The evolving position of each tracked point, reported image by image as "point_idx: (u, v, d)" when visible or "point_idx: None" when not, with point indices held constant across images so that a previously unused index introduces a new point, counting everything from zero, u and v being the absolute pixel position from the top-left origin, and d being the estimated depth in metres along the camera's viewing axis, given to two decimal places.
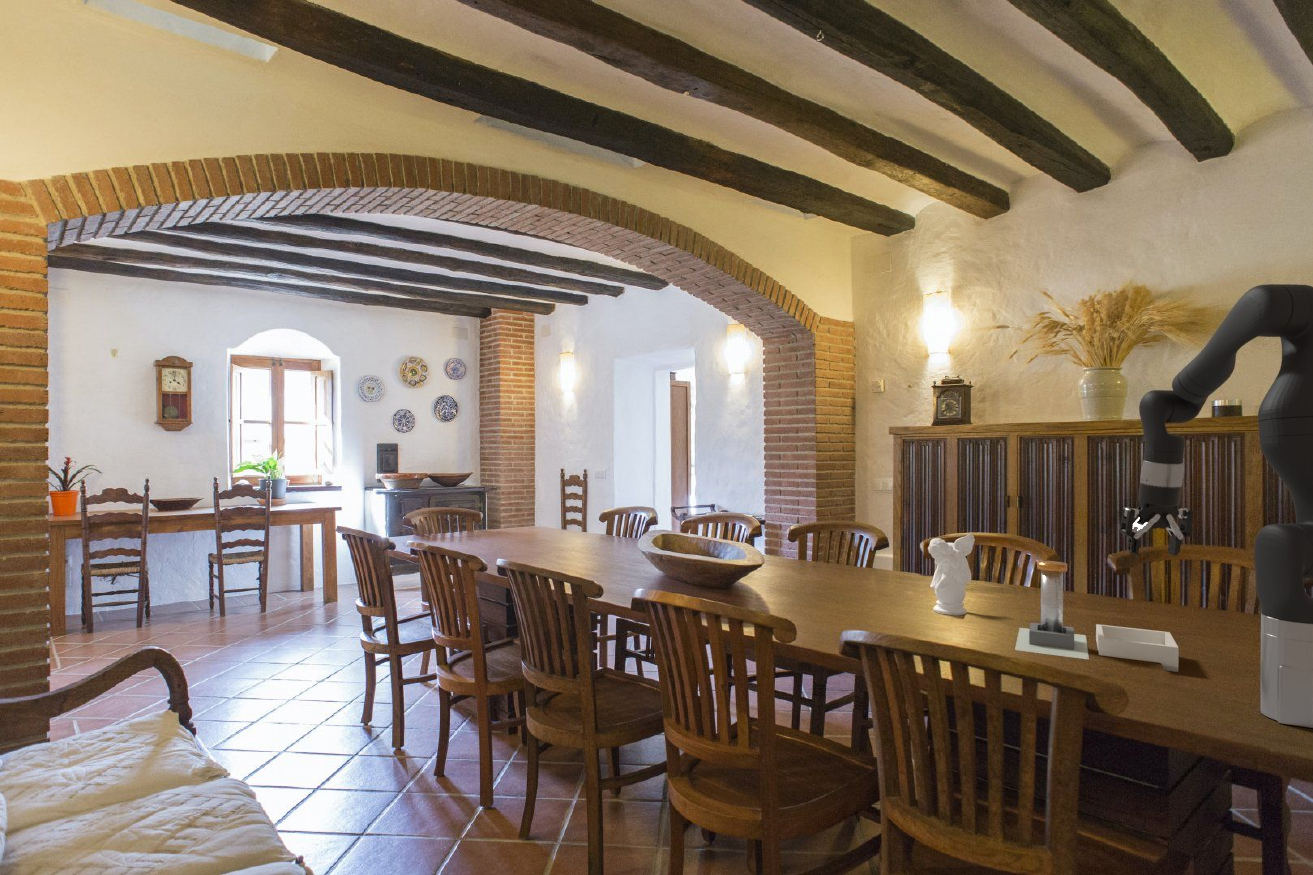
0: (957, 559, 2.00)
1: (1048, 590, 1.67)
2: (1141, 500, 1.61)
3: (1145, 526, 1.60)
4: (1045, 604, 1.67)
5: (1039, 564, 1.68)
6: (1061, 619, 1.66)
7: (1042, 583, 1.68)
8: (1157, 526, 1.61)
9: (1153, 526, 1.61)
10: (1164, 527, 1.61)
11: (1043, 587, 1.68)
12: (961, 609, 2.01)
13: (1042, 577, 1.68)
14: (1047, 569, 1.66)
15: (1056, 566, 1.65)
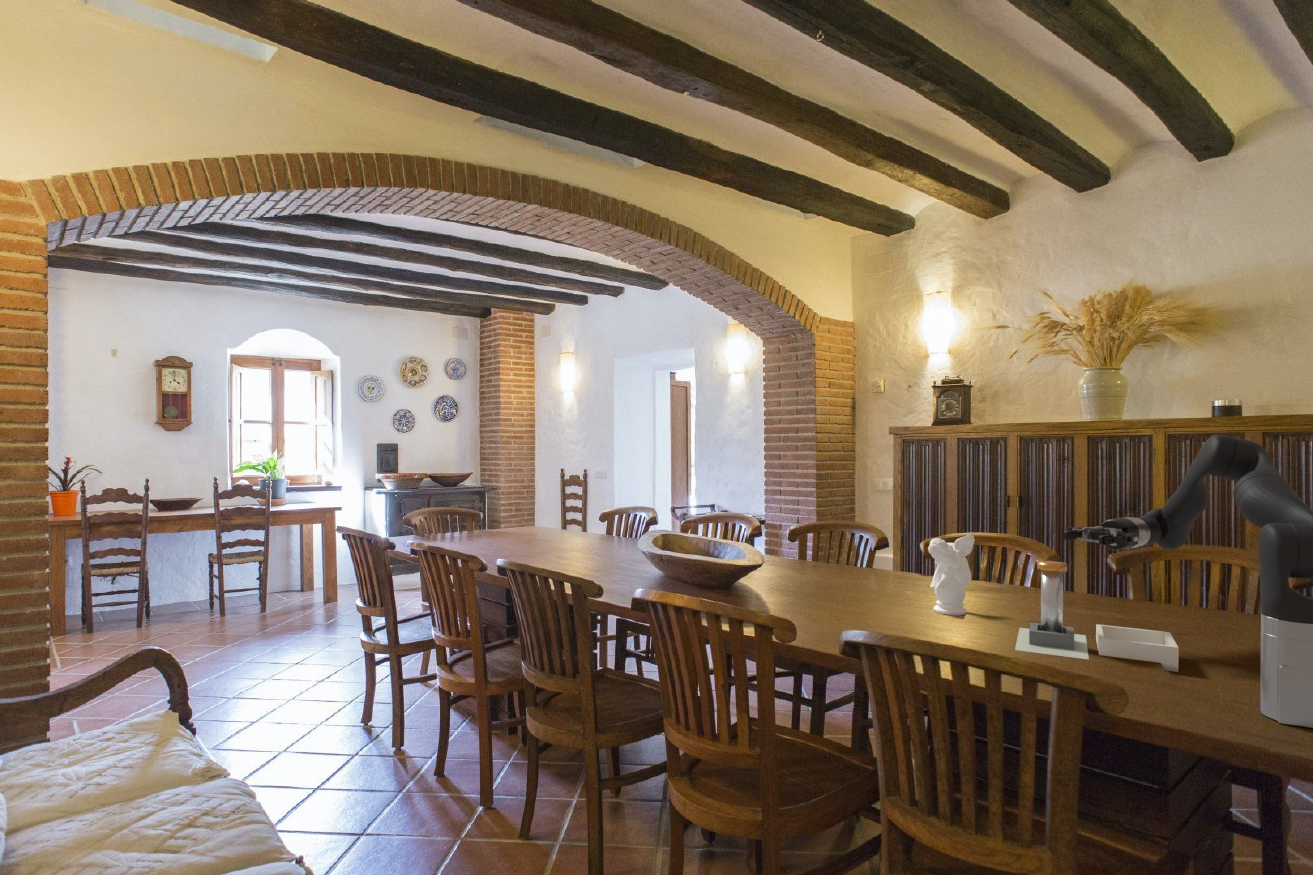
0: (957, 559, 2.00)
1: (1048, 590, 1.67)
2: None
3: (1086, 527, 1.79)
4: (1045, 604, 1.67)
5: (1039, 564, 1.68)
6: (1061, 619, 1.66)
7: (1042, 583, 1.68)
8: (1098, 531, 1.76)
9: (1094, 530, 1.77)
10: (1104, 532, 1.75)
11: (1043, 587, 1.68)
12: (961, 609, 2.01)
13: (1042, 577, 1.68)
14: (1047, 569, 1.66)
15: (1056, 566, 1.65)
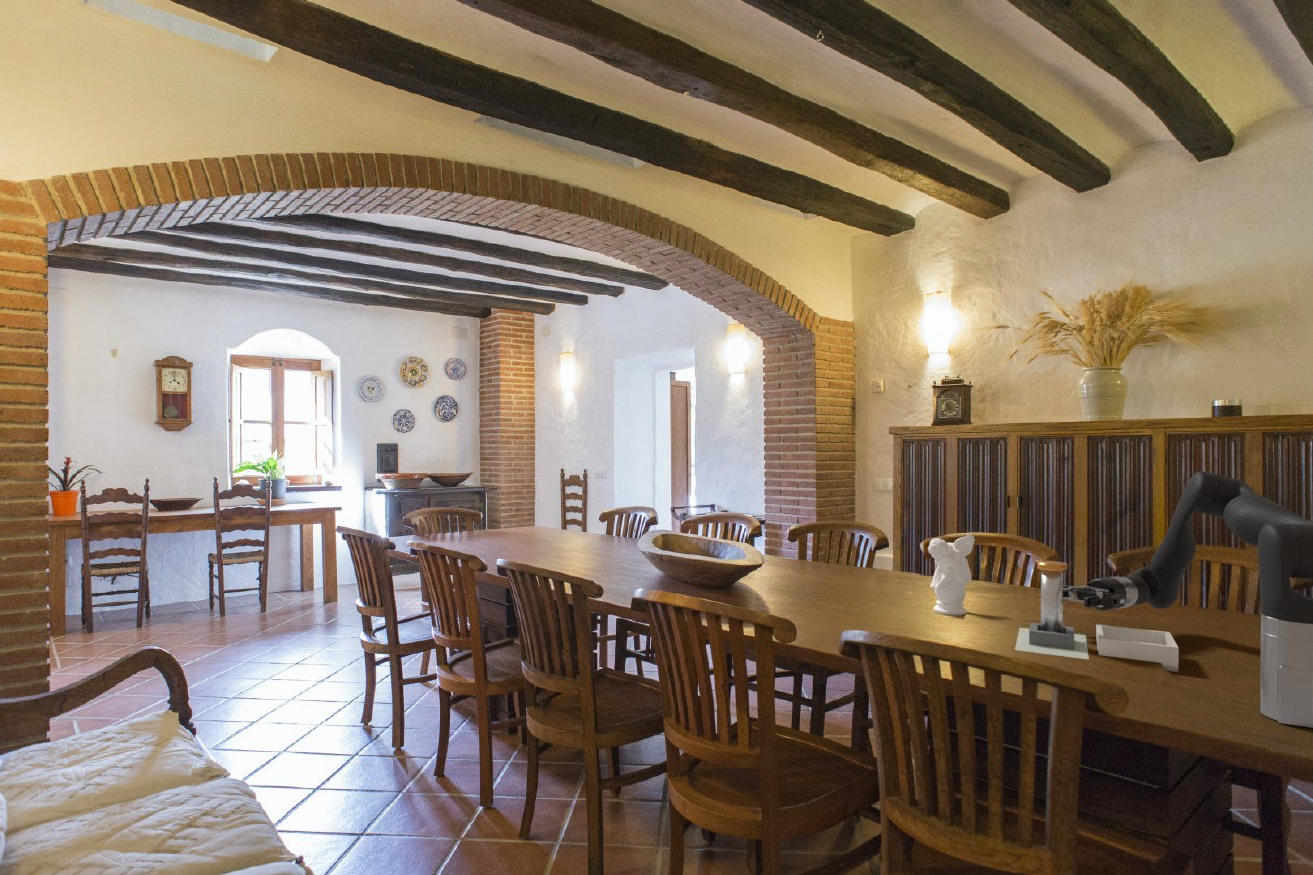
0: (957, 559, 2.00)
1: (1048, 590, 1.67)
2: None
3: (1072, 586, 1.77)
4: (1044, 604, 1.67)
5: (1039, 564, 1.68)
6: (1061, 619, 1.66)
7: (1042, 583, 1.68)
8: (1084, 591, 1.74)
9: (1081, 590, 1.75)
10: (1090, 593, 1.72)
11: (1043, 587, 1.68)
12: (961, 609, 2.01)
13: (1042, 577, 1.68)
14: (1047, 569, 1.66)
15: (1056, 566, 1.65)
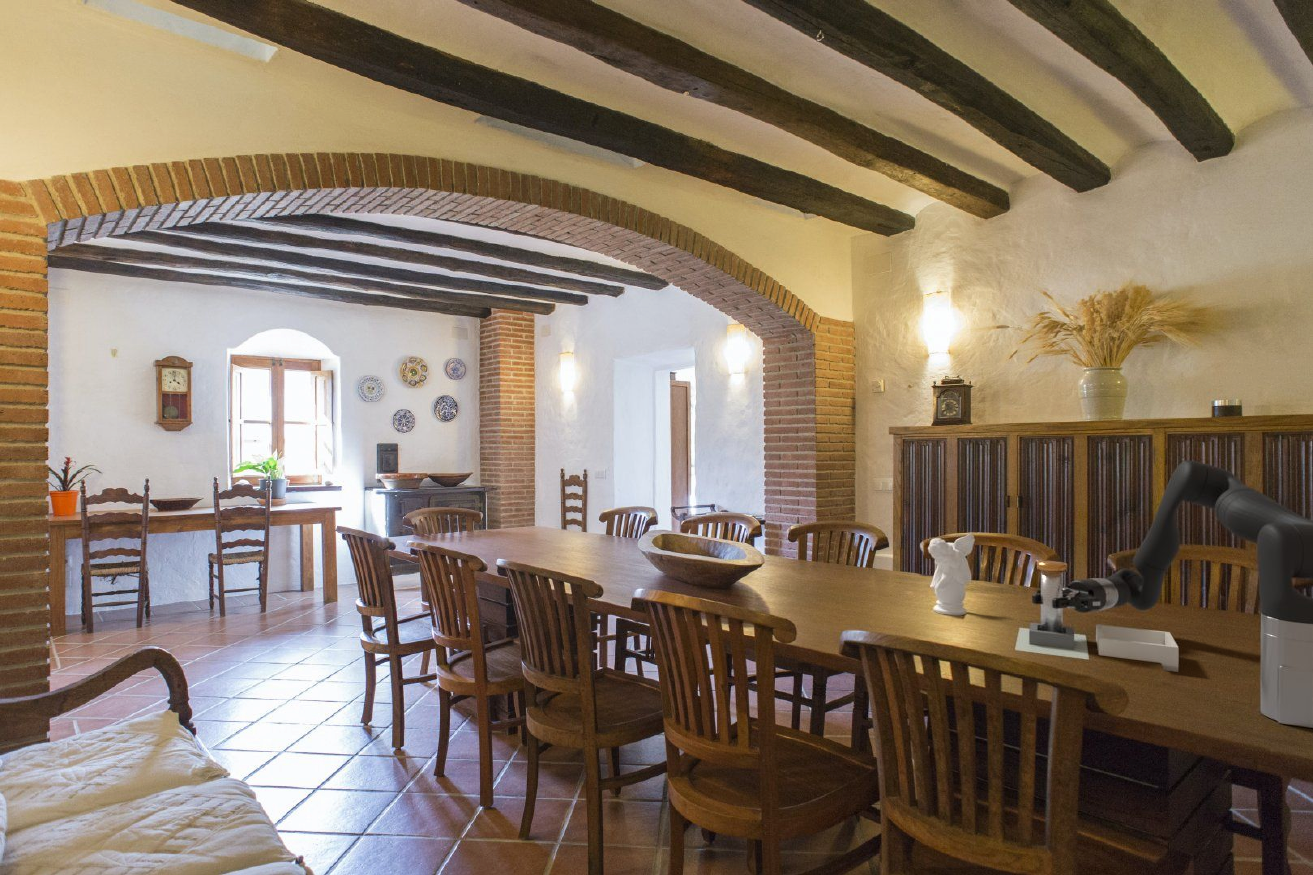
0: (957, 559, 2.00)
1: (1048, 590, 1.67)
2: None
3: None
4: (1044, 604, 1.67)
5: (1039, 564, 1.68)
6: (1061, 619, 1.66)
7: (1042, 583, 1.68)
8: (1063, 593, 1.71)
9: None
10: None
11: (1043, 587, 1.68)
12: (961, 609, 2.01)
13: (1042, 577, 1.68)
14: (1047, 569, 1.66)
15: (1056, 566, 1.65)
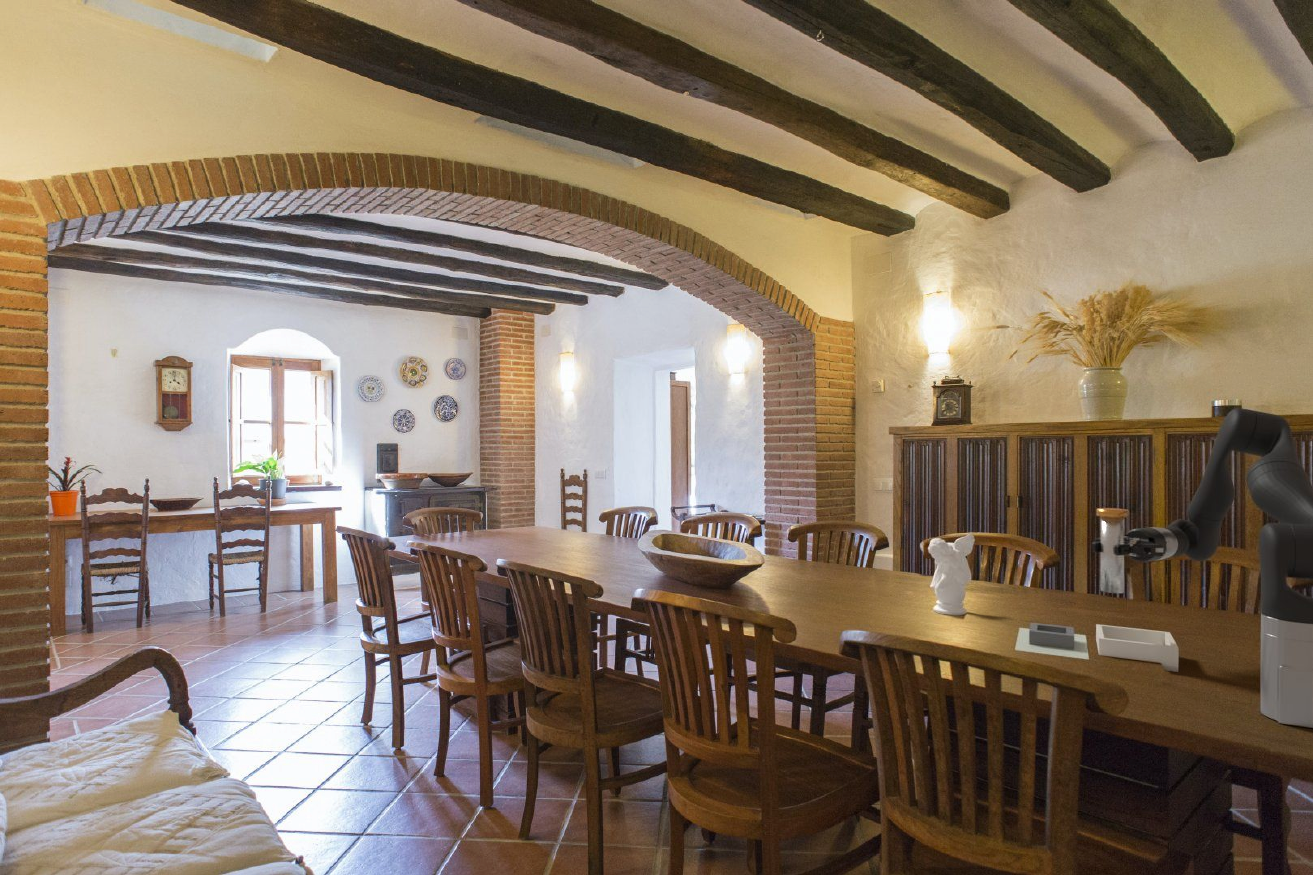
0: (957, 559, 2.00)
1: (1109, 537, 1.61)
2: None
3: None
4: (1105, 551, 1.62)
5: (1099, 510, 1.63)
6: (1123, 567, 1.61)
7: (1102, 530, 1.63)
8: None
9: None
10: (1130, 542, 1.64)
11: (1104, 534, 1.62)
12: (961, 609, 2.01)
13: (1102, 524, 1.63)
14: (1108, 515, 1.61)
15: (1118, 512, 1.60)
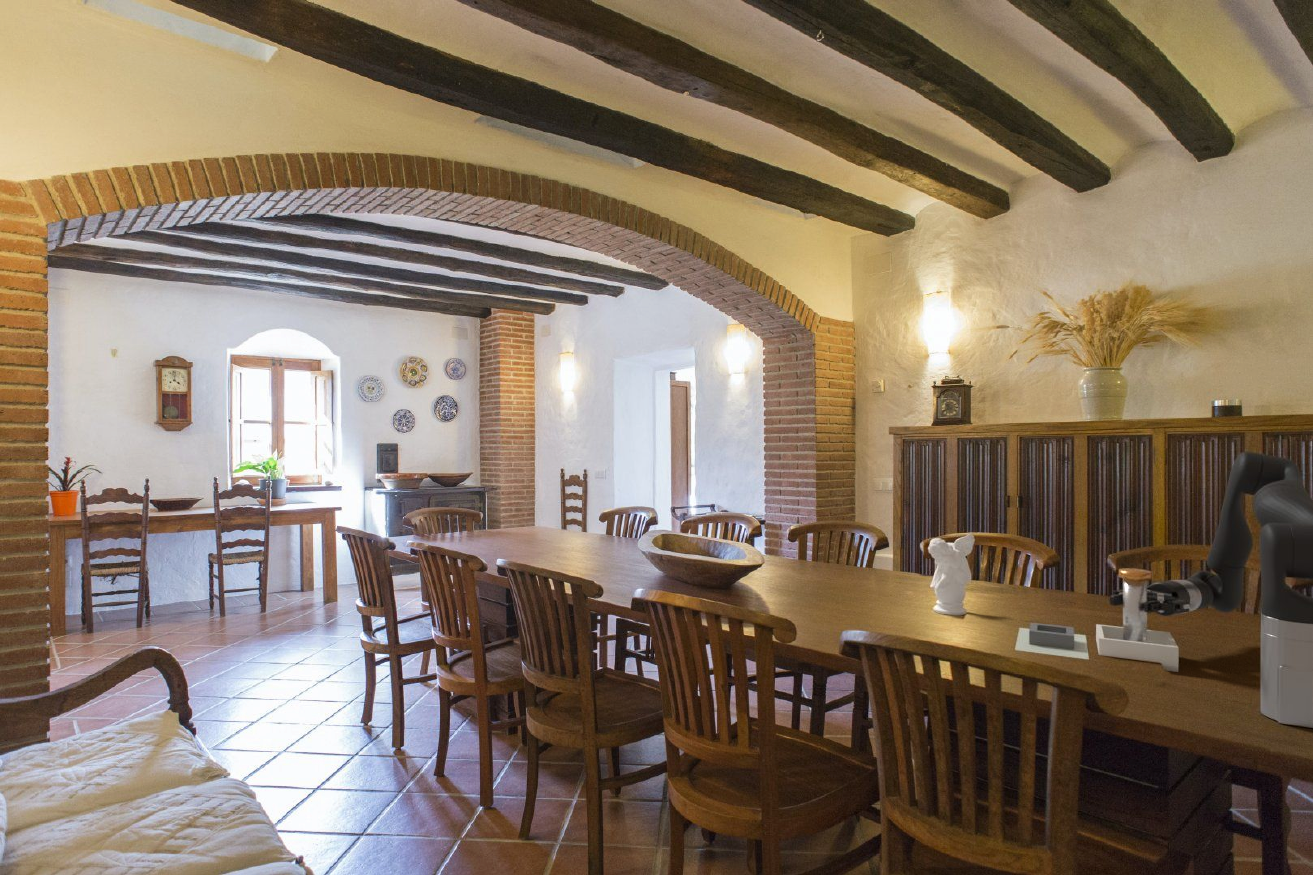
0: (957, 559, 2.00)
1: (1132, 599, 1.60)
2: None
3: None
4: (1128, 613, 1.60)
5: (1121, 572, 1.61)
6: (1145, 629, 1.60)
7: (1125, 592, 1.61)
8: None
9: None
10: (1153, 597, 1.62)
11: (1126, 596, 1.61)
12: (961, 609, 2.01)
13: (1124, 586, 1.61)
14: (1131, 578, 1.59)
15: (1141, 574, 1.58)
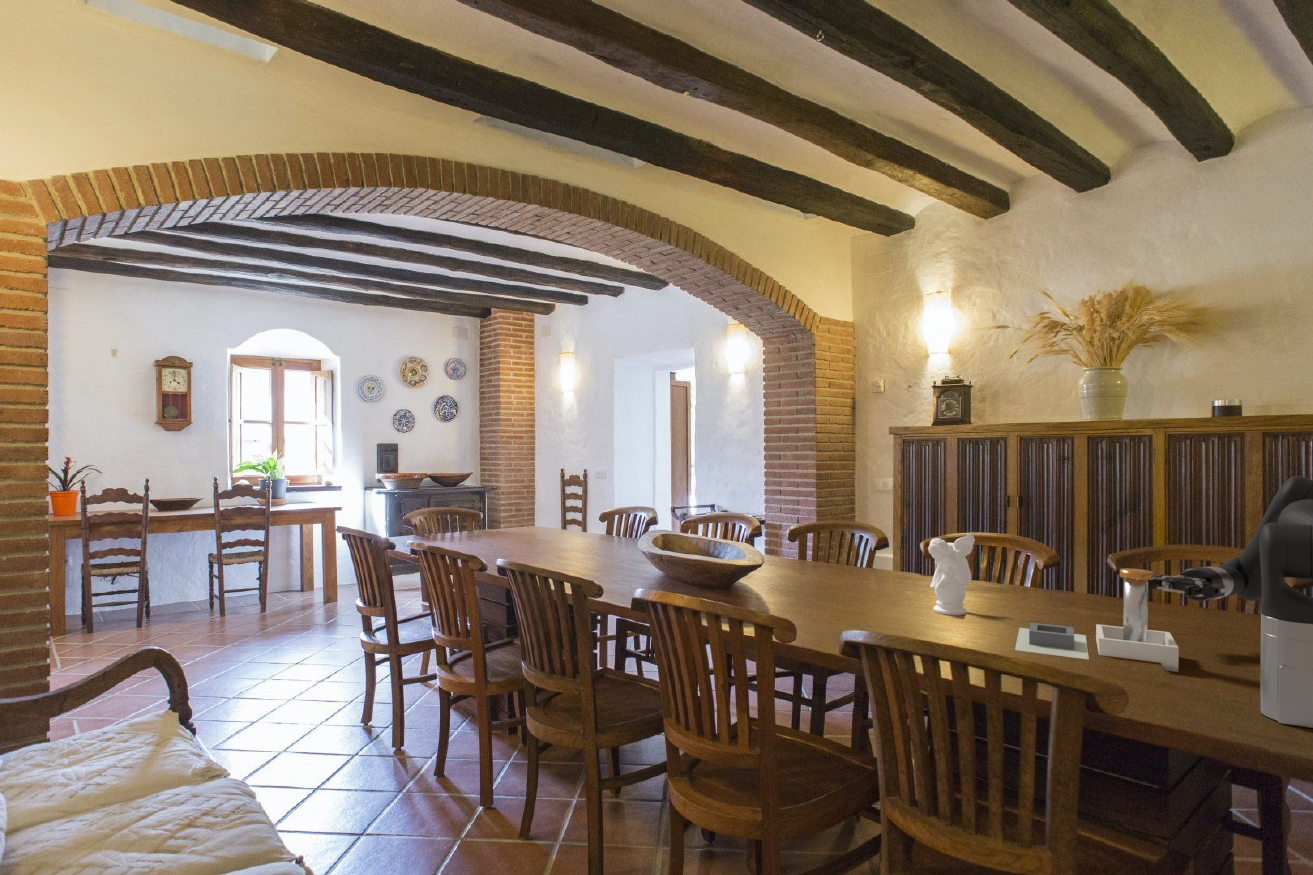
0: (957, 559, 2.00)
1: (1132, 599, 1.60)
2: None
3: (1167, 576, 1.72)
4: (1128, 613, 1.61)
5: (1123, 572, 1.61)
6: (1146, 629, 1.60)
7: (1125, 592, 1.61)
8: (1180, 580, 1.69)
9: (1176, 580, 1.70)
10: (1187, 582, 1.67)
11: (1127, 595, 1.61)
12: (961, 609, 2.01)
13: (1125, 585, 1.61)
14: (1132, 577, 1.59)
15: (1142, 574, 1.59)
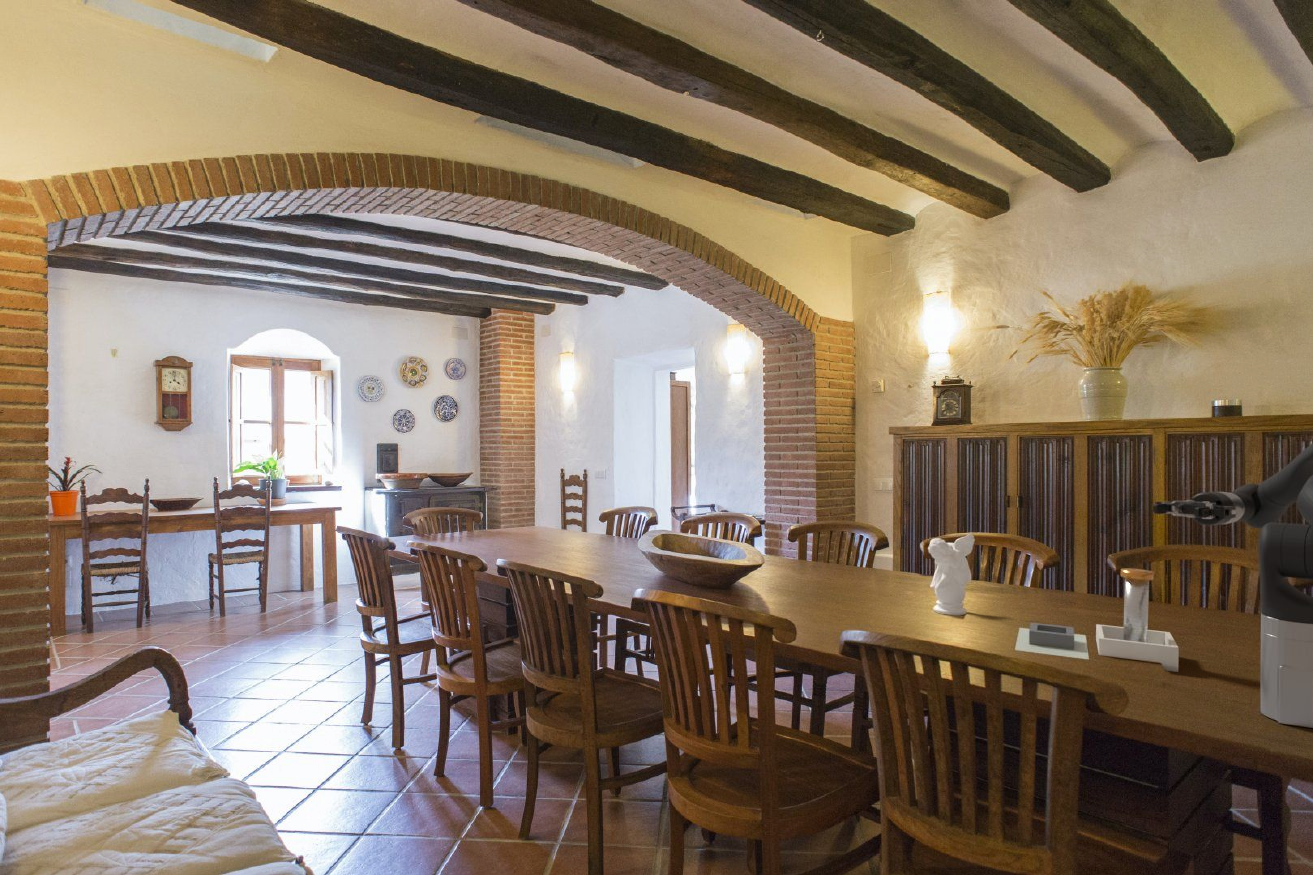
0: (957, 559, 2.00)
1: (1133, 599, 1.60)
2: None
3: None
4: (1129, 613, 1.61)
5: (1124, 572, 1.61)
6: (1146, 629, 1.60)
7: (1126, 591, 1.61)
8: (1190, 504, 1.67)
9: (1186, 504, 1.67)
10: (1197, 505, 1.65)
11: (1128, 595, 1.61)
12: (961, 609, 2.01)
13: (1126, 585, 1.61)
14: (1133, 577, 1.59)
15: (1143, 574, 1.59)
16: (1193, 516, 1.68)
